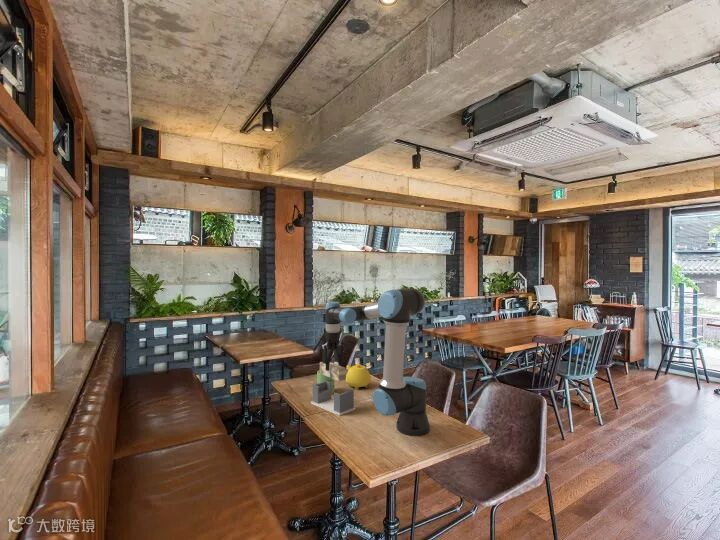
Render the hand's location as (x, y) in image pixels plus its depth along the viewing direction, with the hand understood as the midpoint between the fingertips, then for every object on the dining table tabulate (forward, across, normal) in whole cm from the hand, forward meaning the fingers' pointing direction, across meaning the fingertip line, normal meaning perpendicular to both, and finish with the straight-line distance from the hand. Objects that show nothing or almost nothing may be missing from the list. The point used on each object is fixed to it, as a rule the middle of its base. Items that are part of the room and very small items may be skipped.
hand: (332, 375), depth 199 cm
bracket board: (+17, 0, 0) cm, 17 cm away
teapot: (+17, -33, -16) cm, 40 cm away
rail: (+1, 0, 0) cm, 1 cm away
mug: (+17, -13, -20) cm, 29 cm away
